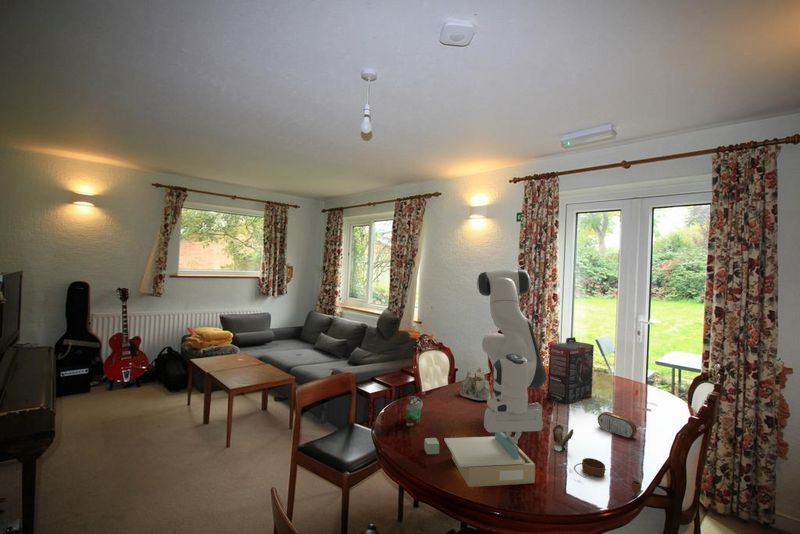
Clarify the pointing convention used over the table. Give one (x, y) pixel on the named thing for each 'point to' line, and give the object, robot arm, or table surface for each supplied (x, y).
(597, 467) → the place setting
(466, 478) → the box
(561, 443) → the eagle figurine
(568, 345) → the headset box
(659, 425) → the table surface
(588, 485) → the table surface
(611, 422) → the tin
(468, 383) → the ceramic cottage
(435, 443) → the cube
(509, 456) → the lid
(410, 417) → the food container
